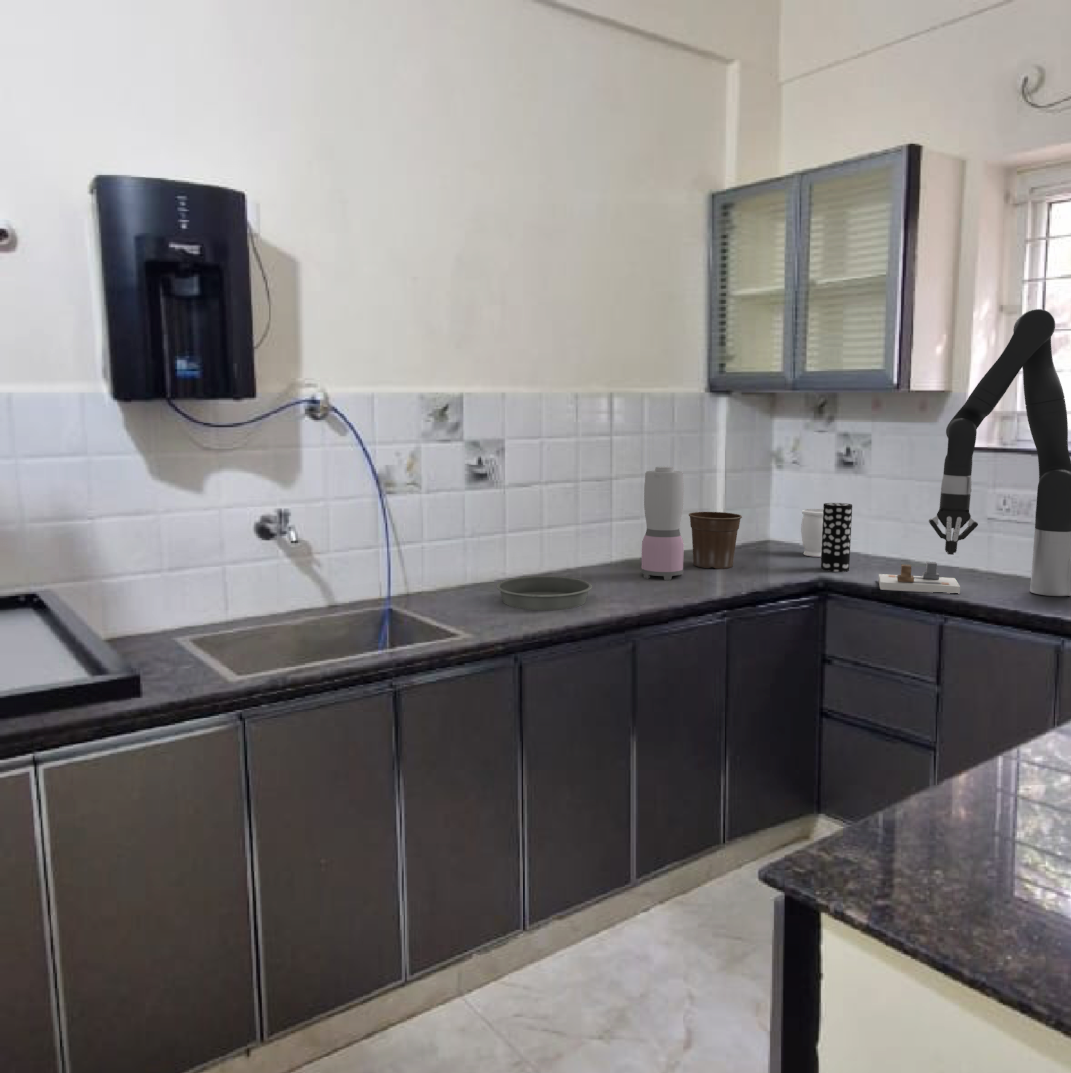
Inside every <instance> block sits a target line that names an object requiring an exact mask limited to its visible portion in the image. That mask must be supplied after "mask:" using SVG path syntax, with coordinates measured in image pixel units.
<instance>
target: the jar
mask: <svg viewBox="0 0 1071 1073" xmlns="http://www.w3.org/2000/svg"><path fill="white" fill-rule="evenodd" d="M801 513H802V515H803V517H802V518H801V519H802V520H801V527H800V532H801V543H802V546H803V549H804V551H803V555H804V556H806V557H812V558H813V557H814V558H821V550H822V528H823V508H822V509H821V508H810V509H802V510H801Z"/></svg>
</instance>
